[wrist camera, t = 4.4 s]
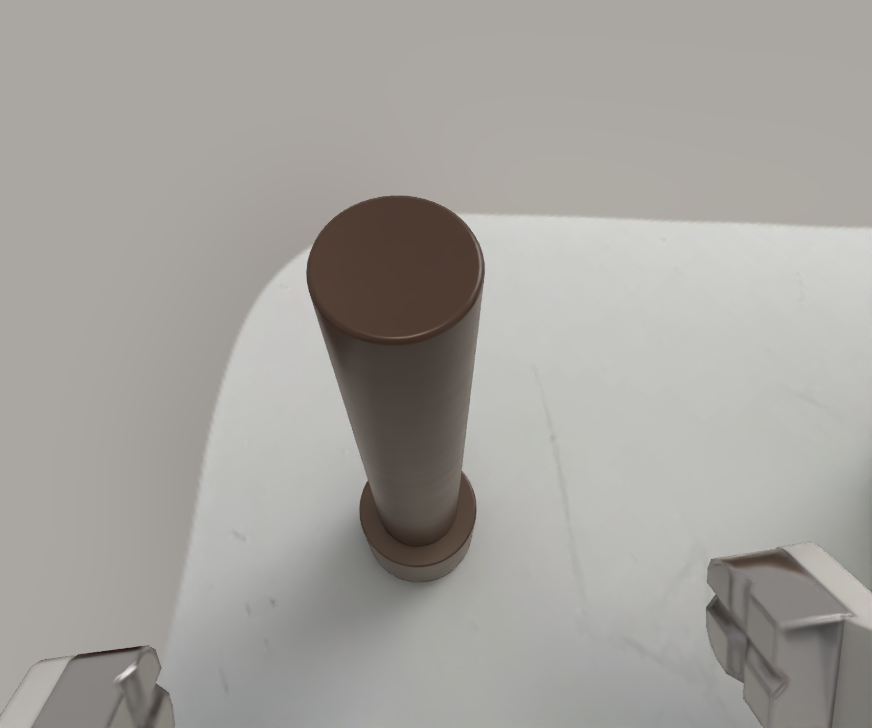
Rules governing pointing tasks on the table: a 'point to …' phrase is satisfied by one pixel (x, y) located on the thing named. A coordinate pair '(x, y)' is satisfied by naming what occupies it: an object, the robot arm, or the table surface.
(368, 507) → the rod
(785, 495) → the table surface
